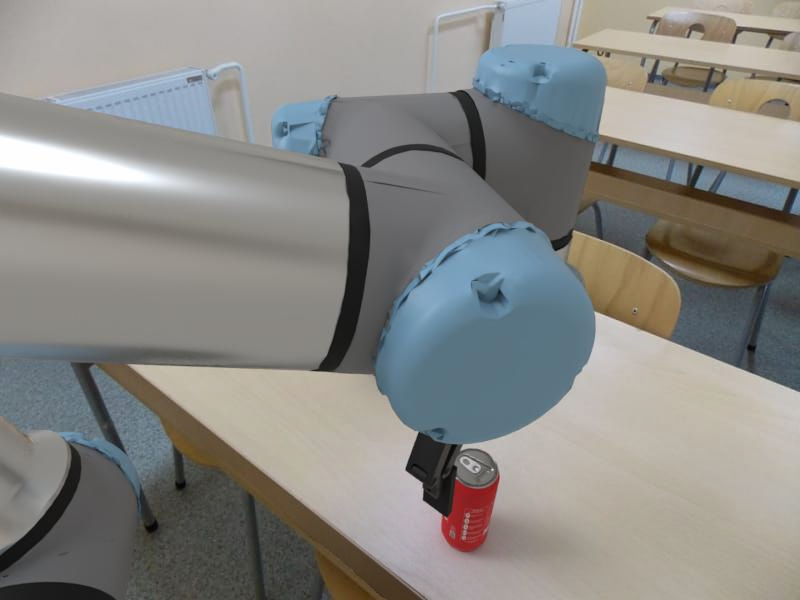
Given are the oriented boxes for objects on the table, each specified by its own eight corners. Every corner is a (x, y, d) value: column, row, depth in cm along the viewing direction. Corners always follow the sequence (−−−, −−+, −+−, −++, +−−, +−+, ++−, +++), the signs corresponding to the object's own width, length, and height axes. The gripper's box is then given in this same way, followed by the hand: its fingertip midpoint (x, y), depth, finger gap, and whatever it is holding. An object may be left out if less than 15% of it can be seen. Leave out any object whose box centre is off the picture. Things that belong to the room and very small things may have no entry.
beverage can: (468, 565, 56) (481, 500, 49) (431, 533, 58) (438, 468, 51) (495, 531, 59) (511, 466, 52) (458, 503, 62) (469, 437, 55)
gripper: (541, 207, 48) (509, 372, 61) (354, 339, 32) (363, 525, 45) (621, 233, 44) (569, 404, 57) (452, 397, 29) (432, 583, 41)
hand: (478, 458), depth 51 cm, fingers open, 13 cm apart
